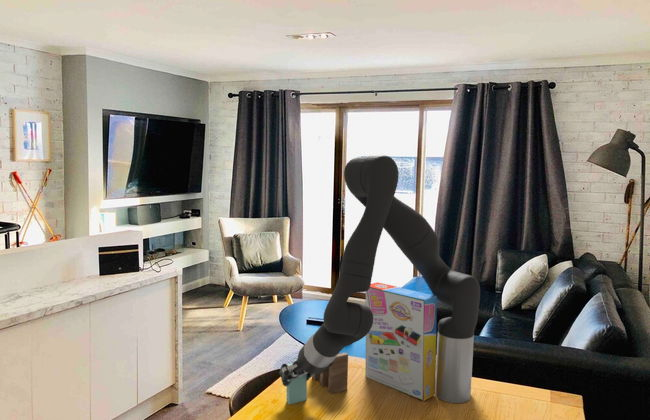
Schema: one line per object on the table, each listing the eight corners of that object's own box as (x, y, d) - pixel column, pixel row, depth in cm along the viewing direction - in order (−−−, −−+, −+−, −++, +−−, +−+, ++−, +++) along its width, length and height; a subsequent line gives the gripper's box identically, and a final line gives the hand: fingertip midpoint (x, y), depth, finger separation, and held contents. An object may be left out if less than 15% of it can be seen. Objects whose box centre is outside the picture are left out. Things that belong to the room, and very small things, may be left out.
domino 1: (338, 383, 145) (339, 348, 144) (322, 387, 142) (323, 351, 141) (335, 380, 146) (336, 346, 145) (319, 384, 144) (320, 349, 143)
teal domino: (306, 399, 135) (306, 362, 134) (289, 404, 132) (289, 366, 131) (303, 397, 136) (303, 360, 135) (286, 402, 134) (286, 364, 133)
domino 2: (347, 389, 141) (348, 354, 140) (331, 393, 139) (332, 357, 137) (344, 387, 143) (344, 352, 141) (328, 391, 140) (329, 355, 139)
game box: (436, 395, 139) (438, 295, 135) (423, 402, 135) (426, 300, 132) (376, 371, 154) (377, 281, 150) (364, 377, 150) (364, 284, 147)
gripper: (339, 332, 129) (313, 362, 141) (287, 342, 122) (264, 372, 133) (350, 361, 125) (322, 388, 137) (297, 372, 118) (273, 400, 129)
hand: (294, 380), depth 135 cm, fingers closed on teal domino, 5 cm apart
